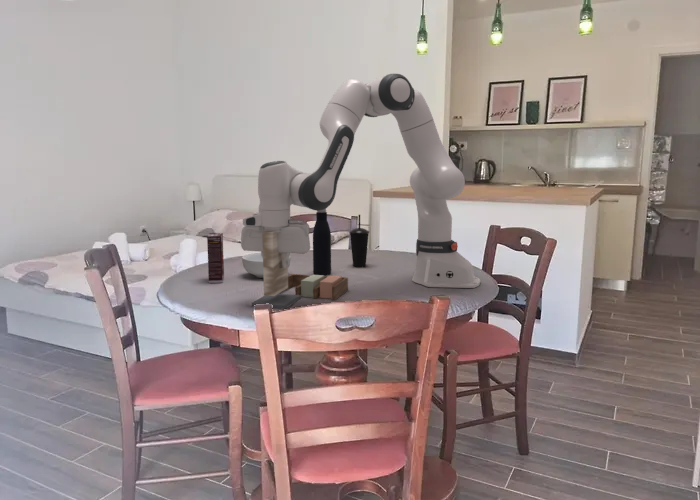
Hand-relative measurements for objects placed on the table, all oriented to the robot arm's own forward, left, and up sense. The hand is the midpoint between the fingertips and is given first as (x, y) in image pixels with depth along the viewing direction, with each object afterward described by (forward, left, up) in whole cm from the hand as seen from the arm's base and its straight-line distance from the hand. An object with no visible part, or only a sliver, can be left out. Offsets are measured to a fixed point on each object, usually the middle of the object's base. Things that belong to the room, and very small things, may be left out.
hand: (275, 267), depth 155 cm
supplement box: (+31, -20, -10) cm, 39 cm away
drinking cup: (-9, -57, -10) cm, 59 cm away
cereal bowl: (+18, -32, -11) cm, 38 cm away
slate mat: (0, 0, -10) cm, 10 cm away
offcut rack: (-6, -13, -10) cm, 18 cm away
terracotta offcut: (-12, -13, -10) cm, 21 cm away
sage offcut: (-6, -13, -10) cm, 18 cm away
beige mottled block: (0, 0, -7) cm, 7 cm away
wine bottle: (0, -40, -10) cm, 41 cm away
